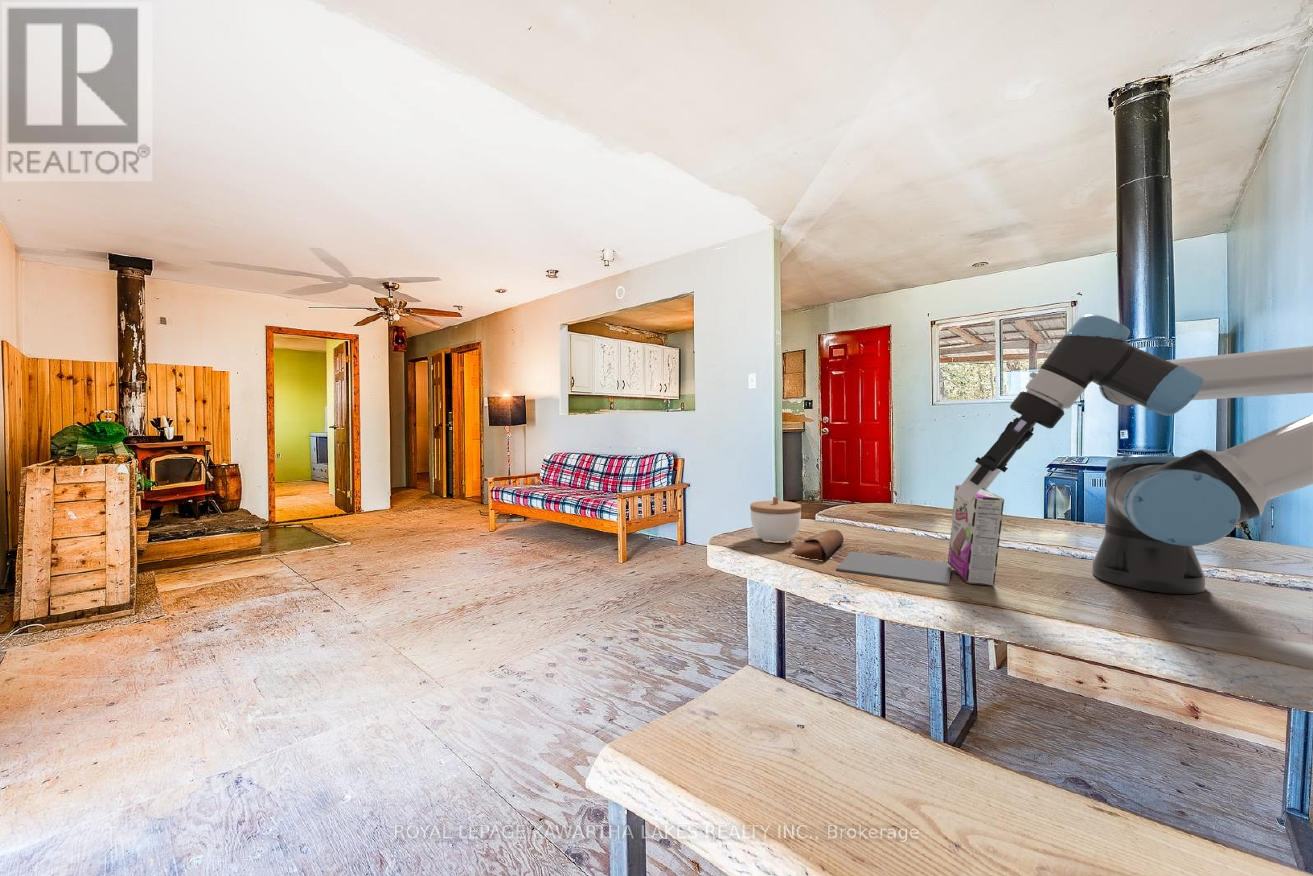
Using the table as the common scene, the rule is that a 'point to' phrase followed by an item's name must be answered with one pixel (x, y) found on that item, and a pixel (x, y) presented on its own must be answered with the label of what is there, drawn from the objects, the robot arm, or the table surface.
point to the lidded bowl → (775, 519)
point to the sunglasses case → (820, 545)
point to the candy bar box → (976, 537)
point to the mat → (897, 567)
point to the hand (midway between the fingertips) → (967, 495)
